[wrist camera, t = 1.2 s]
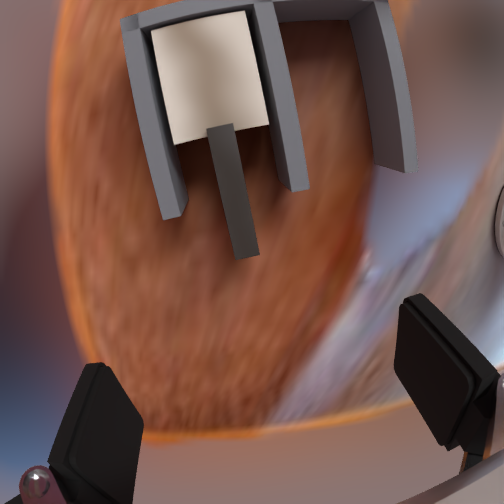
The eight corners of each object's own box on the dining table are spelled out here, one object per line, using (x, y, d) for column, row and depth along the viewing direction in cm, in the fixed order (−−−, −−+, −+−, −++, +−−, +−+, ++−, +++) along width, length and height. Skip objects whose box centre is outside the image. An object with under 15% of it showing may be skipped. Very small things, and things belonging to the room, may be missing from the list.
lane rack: (357, 8, 19) (383, -11, 15) (386, 162, 25) (418, 171, 20) (138, 38, 19) (119, 19, 14) (174, 202, 24) (163, 220, 20)
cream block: (240, 30, 20) (245, 5, 14) (278, 223, 26) (292, 247, 21) (163, 47, 20) (147, 26, 14) (206, 238, 26) (202, 267, 21)
